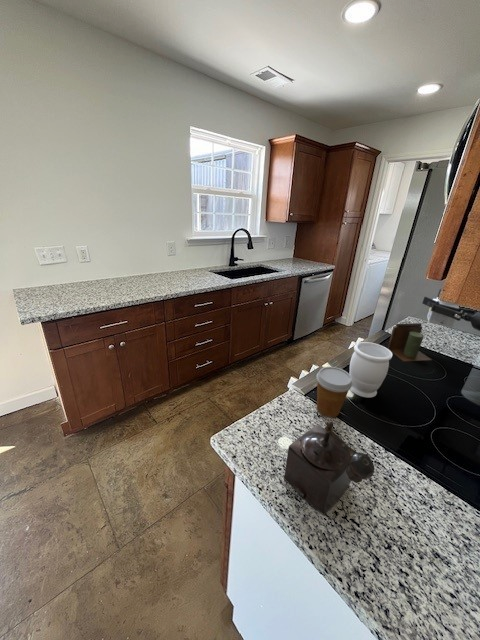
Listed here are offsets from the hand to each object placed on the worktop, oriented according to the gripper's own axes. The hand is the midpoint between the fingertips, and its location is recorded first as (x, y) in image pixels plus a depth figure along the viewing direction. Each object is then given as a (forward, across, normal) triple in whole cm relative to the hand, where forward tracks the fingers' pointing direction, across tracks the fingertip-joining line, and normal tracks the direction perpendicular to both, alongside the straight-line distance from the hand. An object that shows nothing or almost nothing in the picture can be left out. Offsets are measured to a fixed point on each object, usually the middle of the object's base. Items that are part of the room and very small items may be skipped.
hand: (437, 299), depth 104 cm
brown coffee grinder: (-54, -66, -22) cm, 88 cm away
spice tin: (-6, -10, -21) cm, 24 cm away
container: (-4, 0, -8) cm, 9 cm away
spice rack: (-6, -10, -22) cm, 25 cm away
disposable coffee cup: (-32, -56, -22) cm, 68 cm away
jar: (-24, -41, -22) cm, 52 cm away
